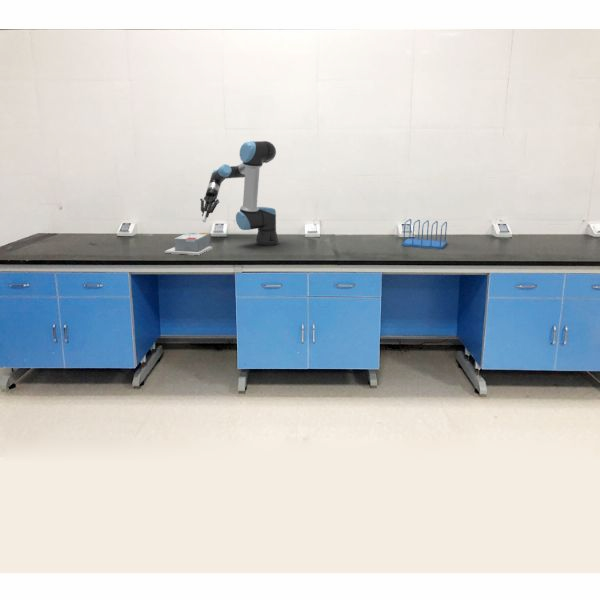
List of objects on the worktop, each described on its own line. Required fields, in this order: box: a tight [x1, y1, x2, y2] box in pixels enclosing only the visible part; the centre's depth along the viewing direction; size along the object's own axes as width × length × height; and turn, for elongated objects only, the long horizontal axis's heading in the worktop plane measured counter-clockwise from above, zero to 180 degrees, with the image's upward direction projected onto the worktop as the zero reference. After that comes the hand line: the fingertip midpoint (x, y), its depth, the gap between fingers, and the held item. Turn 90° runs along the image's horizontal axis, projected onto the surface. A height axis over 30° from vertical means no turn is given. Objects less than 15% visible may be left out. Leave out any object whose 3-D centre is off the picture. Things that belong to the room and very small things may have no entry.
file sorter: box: [401, 218, 448, 250], centre depth 372 cm, size 25×17×15 cm
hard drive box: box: [173, 232, 212, 251], centre depth 359 cm, size 16×8×20 cm
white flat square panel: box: [164, 245, 213, 256], centre depth 358 cm, size 22×20×2 cm
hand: (203, 221), depth 375 cm, fingers closed
